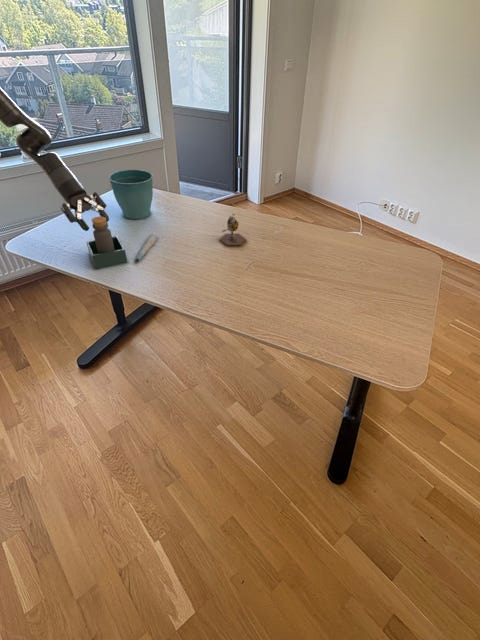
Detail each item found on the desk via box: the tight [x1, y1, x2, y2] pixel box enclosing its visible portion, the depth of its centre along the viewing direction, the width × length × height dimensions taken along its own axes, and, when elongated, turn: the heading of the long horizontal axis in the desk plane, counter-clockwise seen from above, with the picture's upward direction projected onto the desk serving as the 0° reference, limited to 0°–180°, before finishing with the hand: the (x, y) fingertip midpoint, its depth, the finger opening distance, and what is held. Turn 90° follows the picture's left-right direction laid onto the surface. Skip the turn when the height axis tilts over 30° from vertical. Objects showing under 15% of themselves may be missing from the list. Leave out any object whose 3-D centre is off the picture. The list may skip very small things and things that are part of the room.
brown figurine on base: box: [219, 213, 247, 247], centre depth 139 cm, size 11×9×12 cm
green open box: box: [86, 235, 128, 270], centre depth 126 cm, size 11×11×6 cm
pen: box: [135, 233, 158, 263], centre depth 133 cm, size 19×3×3 cm, turn 172°
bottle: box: [91, 216, 115, 254], centre depth 123 cm, size 6×6×15 cm
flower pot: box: [108, 169, 154, 220], centre depth 152 cm, size 18×18×17 cm
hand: (98, 225), depth 120 cm, fingers open, 8 cm apart
